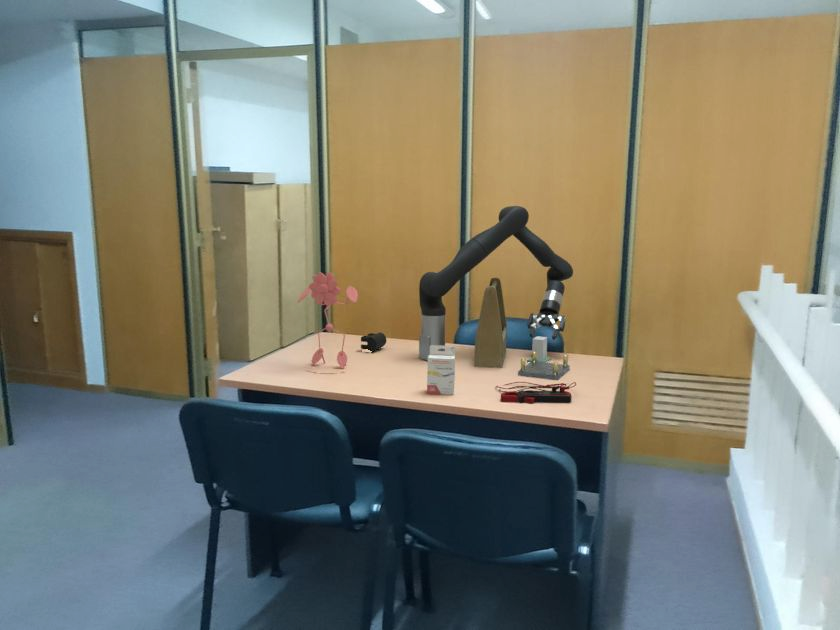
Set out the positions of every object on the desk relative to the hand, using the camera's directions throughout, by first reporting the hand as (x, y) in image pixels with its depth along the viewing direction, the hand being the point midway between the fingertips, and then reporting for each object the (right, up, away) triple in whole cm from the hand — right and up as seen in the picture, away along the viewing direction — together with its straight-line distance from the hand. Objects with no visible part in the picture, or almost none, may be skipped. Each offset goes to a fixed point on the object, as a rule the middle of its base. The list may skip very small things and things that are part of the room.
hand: (542, 337), depth 257 cm
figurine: (-81, -11, -15) cm, 83 cm away
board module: (-2, -9, -2) cm, 9 cm away
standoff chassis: (-3, -12, -19) cm, 23 cm away
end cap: (-66, -6, +15) cm, 68 cm away
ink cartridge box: (-41, -16, -45) cm, 63 cm away
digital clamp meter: (-10, -17, -45) cm, 50 cm away
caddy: (-20, -8, +2) cm, 21 cm away
